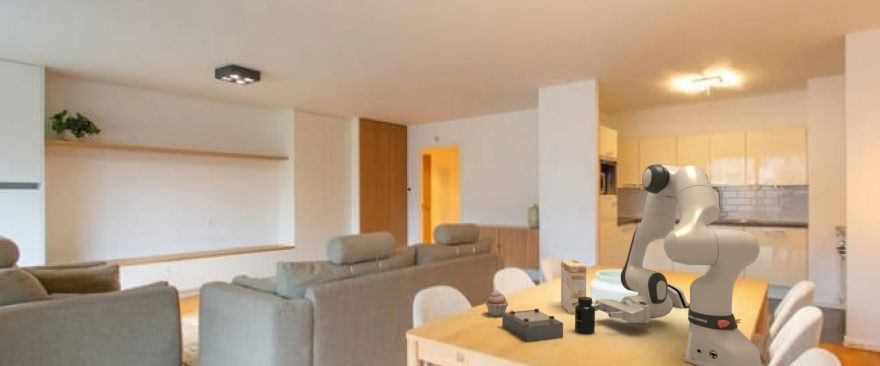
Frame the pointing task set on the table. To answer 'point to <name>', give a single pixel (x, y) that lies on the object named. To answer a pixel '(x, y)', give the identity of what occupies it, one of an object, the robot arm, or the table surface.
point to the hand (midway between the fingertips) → (600, 311)
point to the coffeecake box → (572, 283)
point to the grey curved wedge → (677, 296)
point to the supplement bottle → (585, 316)
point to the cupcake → (496, 304)
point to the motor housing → (532, 325)
